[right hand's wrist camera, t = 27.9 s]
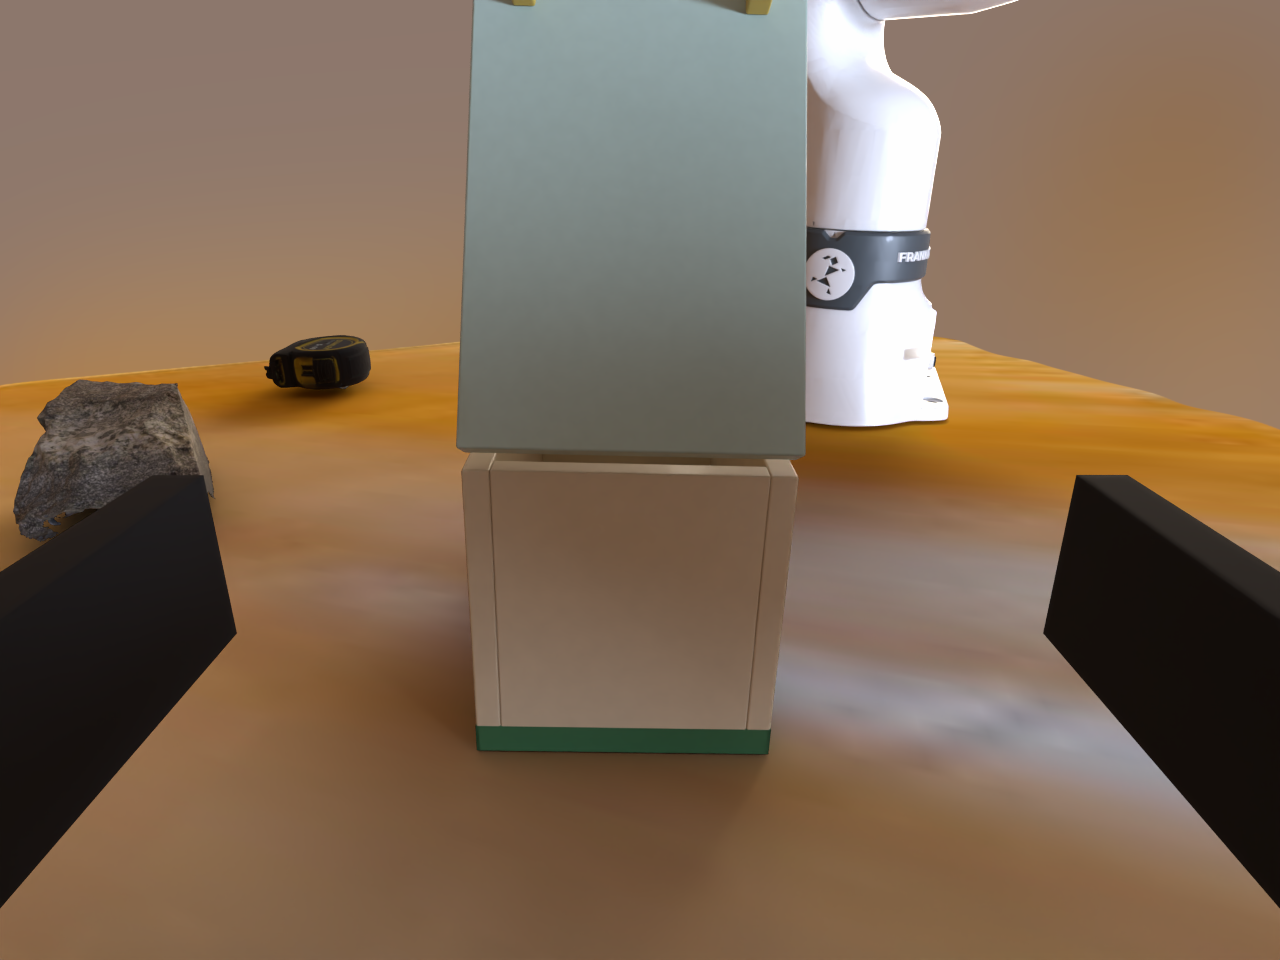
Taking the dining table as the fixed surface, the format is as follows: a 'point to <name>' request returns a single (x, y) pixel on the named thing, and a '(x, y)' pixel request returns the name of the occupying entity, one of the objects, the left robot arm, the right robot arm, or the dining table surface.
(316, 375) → the tape measure
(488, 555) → the chest
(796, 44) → the lid
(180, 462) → the rock
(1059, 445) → the dining table surface
